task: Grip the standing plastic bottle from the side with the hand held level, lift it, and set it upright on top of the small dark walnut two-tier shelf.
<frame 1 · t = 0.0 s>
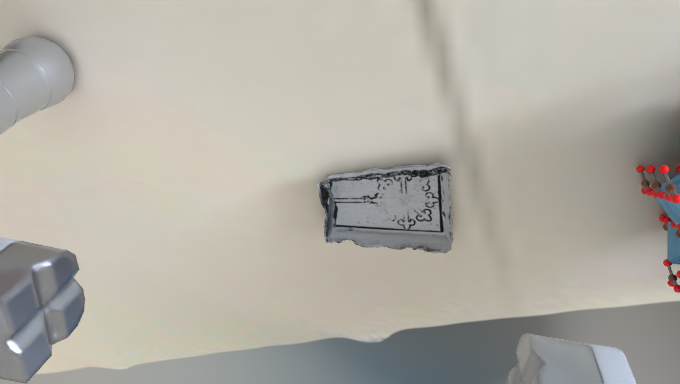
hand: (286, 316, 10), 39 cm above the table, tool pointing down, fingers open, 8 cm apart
plastic bottle: (55, 63, 53), on the table
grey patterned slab: (387, 196, 55), on the table
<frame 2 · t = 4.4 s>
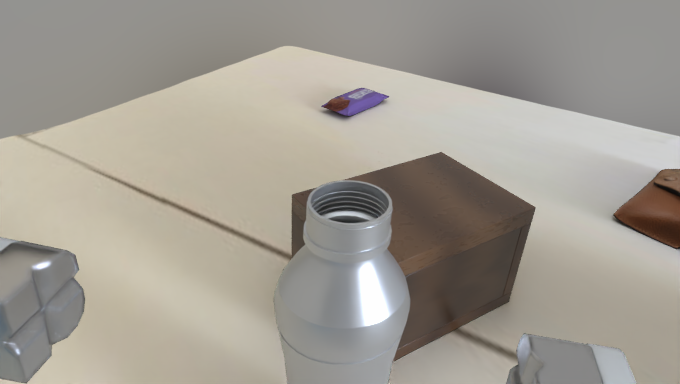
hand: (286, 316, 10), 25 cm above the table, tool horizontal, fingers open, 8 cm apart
sunglasses case: (673, 209, 63), on the table
snack package: (355, 108, 85), on the table
shelf: (400, 296, 47), on the table
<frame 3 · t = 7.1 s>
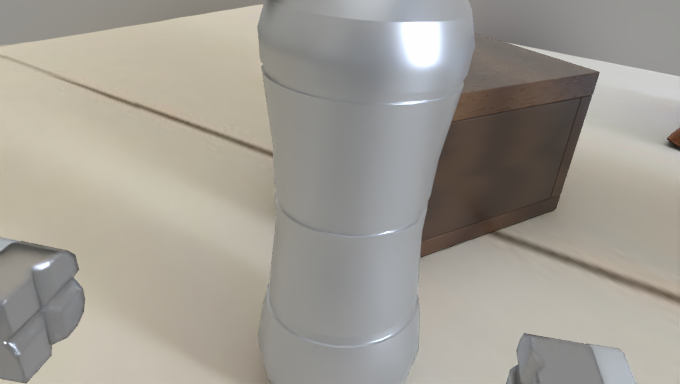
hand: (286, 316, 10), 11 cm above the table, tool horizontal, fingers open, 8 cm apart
plastic bottle: (334, 378, 23), on the table
shelf: (421, 198, 38), on the table
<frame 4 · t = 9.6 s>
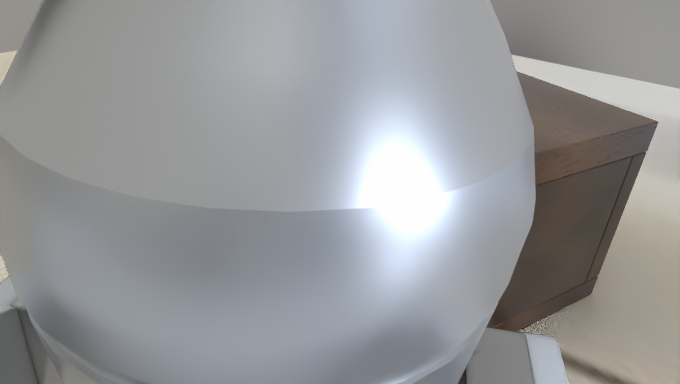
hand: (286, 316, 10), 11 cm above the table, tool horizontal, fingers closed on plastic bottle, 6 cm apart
shelf: (414, 279, 29), on the table
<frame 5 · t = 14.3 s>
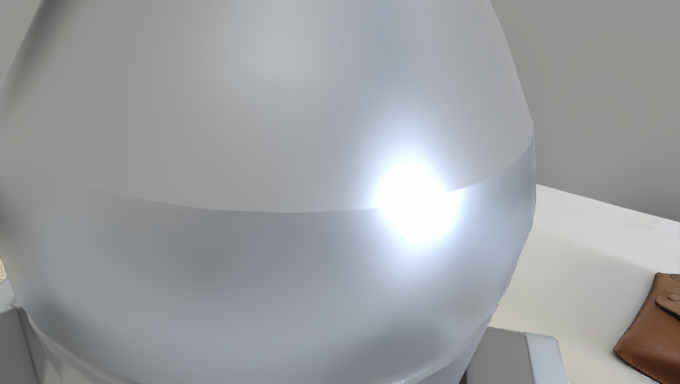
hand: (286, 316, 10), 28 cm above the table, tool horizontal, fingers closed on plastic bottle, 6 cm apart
sunglasses case: (678, 332, 52), on the table
when the fingers open (21 cm above the table, at t = 18.9 s): plastic bottle stays where it is, resting on shelf.
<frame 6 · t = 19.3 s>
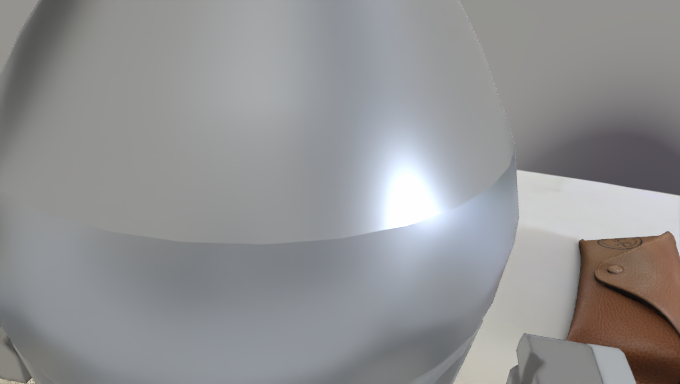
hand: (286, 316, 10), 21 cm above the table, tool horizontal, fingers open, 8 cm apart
sunglasses case: (621, 308, 44), on the table
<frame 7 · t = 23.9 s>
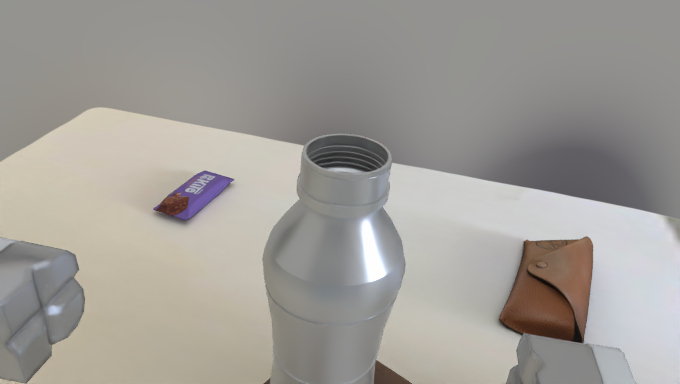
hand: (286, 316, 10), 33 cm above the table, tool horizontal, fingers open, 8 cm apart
sunglasses case: (546, 292, 62), on the table
snack package: (196, 200, 71), on the table
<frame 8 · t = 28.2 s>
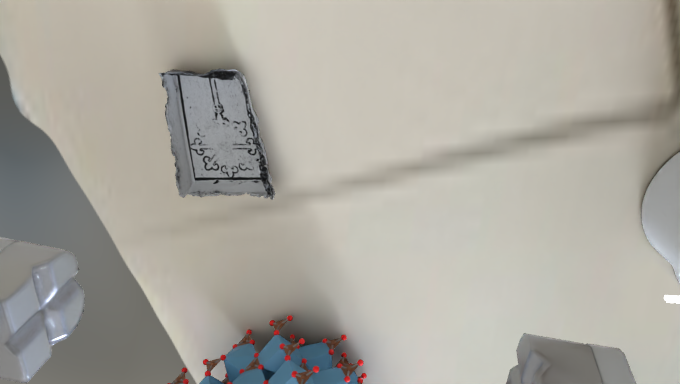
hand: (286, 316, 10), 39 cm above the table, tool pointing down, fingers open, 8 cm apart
molecule model: (283, 360, 66), on the table
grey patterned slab: (225, 128, 52), on the table
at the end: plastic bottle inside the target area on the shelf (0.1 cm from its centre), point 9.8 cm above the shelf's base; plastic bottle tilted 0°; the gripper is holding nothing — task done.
